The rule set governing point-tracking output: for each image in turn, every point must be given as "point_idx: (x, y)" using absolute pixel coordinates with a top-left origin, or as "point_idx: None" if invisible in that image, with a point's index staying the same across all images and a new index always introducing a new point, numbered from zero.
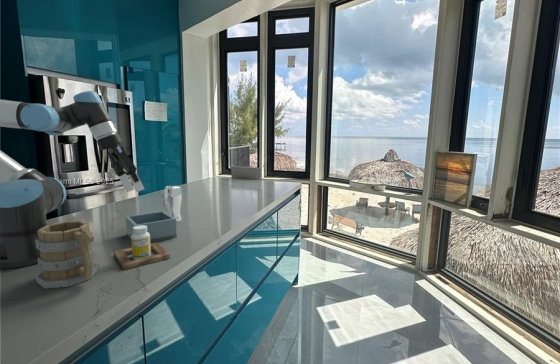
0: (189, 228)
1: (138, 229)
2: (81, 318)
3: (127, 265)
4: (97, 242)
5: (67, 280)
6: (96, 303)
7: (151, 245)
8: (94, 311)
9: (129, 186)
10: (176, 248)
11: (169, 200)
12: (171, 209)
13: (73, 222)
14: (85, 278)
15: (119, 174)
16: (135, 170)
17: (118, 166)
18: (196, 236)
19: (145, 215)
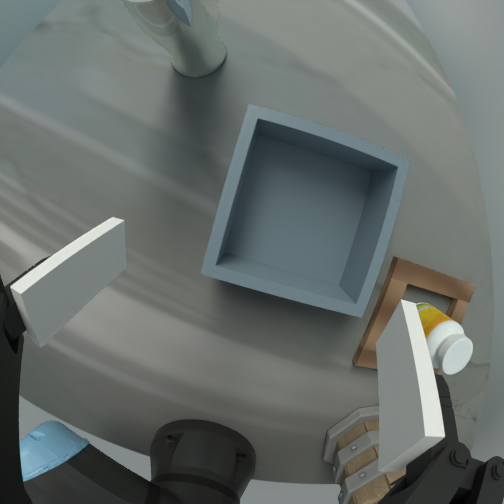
0: (337, 82)
1: (464, 366)
2: (467, 431)
3: (437, 369)
4: (217, 348)
5: None
6: (463, 418)
7: (405, 283)
8: (471, 421)
9: (104, 255)
10: (447, 235)
11: (193, 31)
12: (203, 47)
13: (381, 498)
14: None
15: (18, 342)
16: (468, 456)
17: (6, 427)
18: (419, 131)
19: (235, 193)
